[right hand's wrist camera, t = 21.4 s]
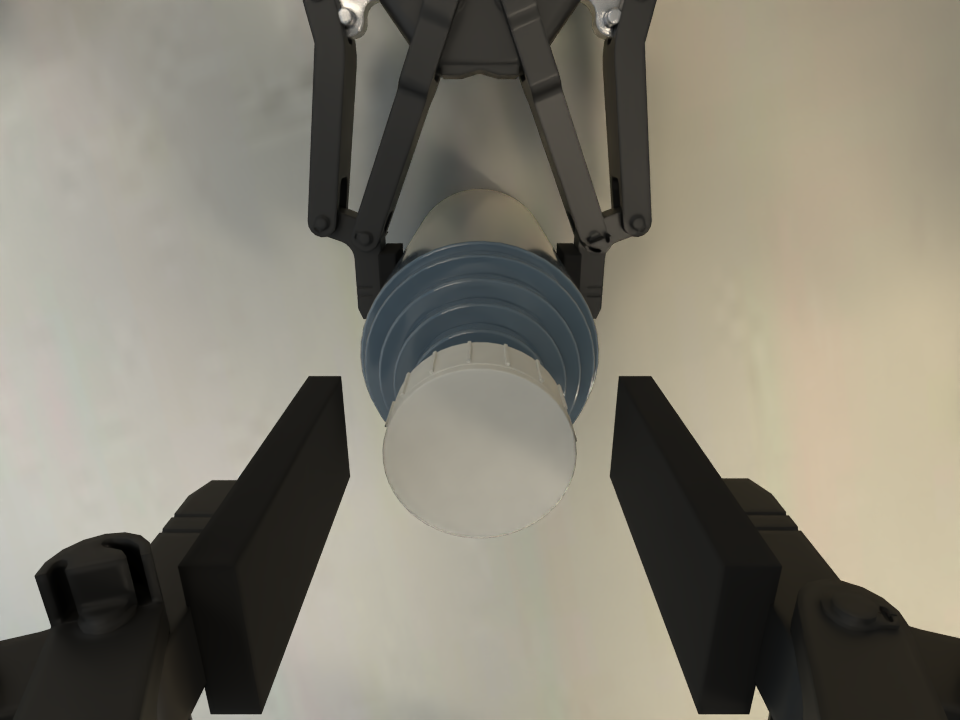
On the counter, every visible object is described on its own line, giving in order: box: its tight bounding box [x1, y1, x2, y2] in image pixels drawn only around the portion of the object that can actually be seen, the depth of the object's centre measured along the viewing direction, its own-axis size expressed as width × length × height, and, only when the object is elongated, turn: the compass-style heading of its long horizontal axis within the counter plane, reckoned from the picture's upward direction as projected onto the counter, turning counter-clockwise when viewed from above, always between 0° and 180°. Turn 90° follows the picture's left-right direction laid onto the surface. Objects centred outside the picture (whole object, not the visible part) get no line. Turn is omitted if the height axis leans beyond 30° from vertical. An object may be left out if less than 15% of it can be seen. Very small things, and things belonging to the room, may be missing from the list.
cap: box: [383, 341, 577, 538], centre depth 14 cm, size 4×4×2 cm
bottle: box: [361, 189, 599, 424], centre depth 24 cm, size 7×7×21 cm
